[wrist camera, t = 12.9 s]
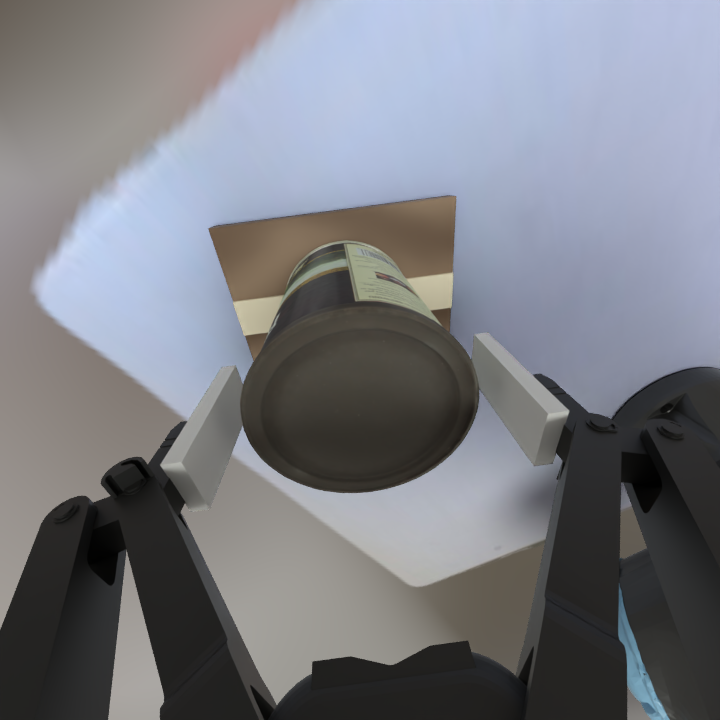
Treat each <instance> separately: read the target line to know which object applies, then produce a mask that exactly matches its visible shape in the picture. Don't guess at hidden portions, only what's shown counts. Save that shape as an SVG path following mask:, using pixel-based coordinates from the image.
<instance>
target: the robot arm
mask: <svg viewBox="0 0 720 720" xmlns="http://www.w3.org/2000/svg"><path fill="white" fill-rule="evenodd" d="M472 363H473V365H474V368H475V370H476V374H477V378H478V383H479V389H480V390H481V392H482V393H483V395H484V396H485V398H486V399H487V400H488V402H489V403H490V405H491V406H492V407H493V409H494V410H495V412H496V413H497V415H498V416H499V417H500V419H501V420H502V422H503V423H504V424H505V426H506V427H507V429H508V430H509V431H510V433H511V434H512V436H513V437H514V439H515V440H516V441H517V443H518V444H519V446H520V447H521V448H522V450H523V451H524V453H525V454H526V456H527V457H528V458H529V460H530V461H531V463H532V464H533V465H534V466H539V465H546V464H553V461H554V458H555V455H556V453H557V454H558V456H559V457H560V458H561V459H562V460H563V462H562V465H561V468H560V471H559V474H558V477H557V480H558V483H557V488H556V492H555V497H554V502H553V507H552V512H551V516H550V521H549V526H548V531H547V536H546V541H545V545H544V550H543V555H542V560H541V565H540V570H539V574H538V579H537V584H536V589H535V594H534V598H533V603H532V608H531V613H530V618H529V622H528V628H527V633H526V636H525V641H524V645H523V648H522V652H521V655H520V659H519V663H518V668H517V672H516V676H515V675H514V674H513V673H512V672H511V671H509V670H508V669H507V668H505V667H504V666H502V665H501V664H499V663H498V662H496V661H494V660H492V659H490V658H488V657H486V656H483V655H481V654H478V653H474V652H471V649H470V646H469V642H468V641H462V642H455V643H447V644H440V645H433V646H429V647H427V648H425V649H423V650H421V651H419V652H417V653H416V654H414V655H412V656H410V657H408V658H406V659H404V660H402V661H401V662H399V663H397V664H394V665H385V664H381V663H377V662H372V661H368V660H364V659H359V658H355V657H344V658H336V659H329V660H322V661H314V662H313V663H312V674H311V675H309V676H307V677H305V678H304V679H303V680H301V681H300V682H298V683H297V684H296V685H295V686H294V687H293V688H292V689H291V690H290V691H289V692H288V693H287V694H286V695H285V696H284V697H283V699H282V700H281V701H280V702H279V703H278V705H276V703H275V701H274V699H273V697H272V696H271V693H270V692H269V690H268V688H267V687H266V685H265V683H264V682H263V680H262V678H261V677H260V674H259V673H258V671H257V669H256V667H255V665H254V662H253V660H252V658H251V656H250V654H249V652H248V650H247V648H246V646H245V644H244V642H243V639H242V638H241V635H240V633H239V631H238V629H237V627H236V625H235V623H234V621H233V619H232V617H231V615H230V613H229V610H228V608H227V606H226V604H225V602H224V600H223V598H222V596H221V594H220V592H219V590H218V587H217V585H216V583H215V581H214V579H213V577H212V575H211V573H210V571H209V569H208V567H207V565H206V562H205V560H204V558H203V556H202V554H201V552H200V550H199V548H198V546H197V544H196V542H195V540H194V538H193V535H192V534H191V531H190V529H189V527H188V525H187V523H186V521H185V519H184V517H183V515H182V514H181V510H182V508H183V506H184V504H186V505H187V507H188V508H189V510H190V511H191V512H193V511H200V510H208V509H210V507H211V505H212V502H213V500H214V497H215V495H216V492H217V489H218V487H219V484H220V482H221V479H222V477H223V474H224V471H225V469H226V466H227V464H228V461H229V459H230V456H231V454H232V451H233V448H234V446H235V443H236V441H237V438H238V436H239V433H240V431H241V428H242V425H243V423H242V418H241V412H240V399H241V392H242V388H243V384H242V381H241V378H240V376H239V373H238V371H237V368H236V365H235V366H227V367H221V369H220V371H219V372H218V374H217V375H216V377H215V379H214V380H213V382H212V383H211V385H210V387H209V388H208V390H207V391H206V393H205V394H204V396H203V398H202V399H201V401H200V402H199V404H198V406H197V407H196V409H195V410H194V412H193V413H192V415H191V417H190V418H189V420H188V421H184V422H180V423H179V424H178V425H177V426H176V427H174V428H173V429H172V430H171V431H170V433H169V434H168V436H167V437H166V439H165V441H164V442H163V443H162V445H161V446H160V448H159V449H158V451H157V452H156V454H155V455H154V456H153V458H152V459H151V461H150V462H149V464H148V465H147V463H146V462H145V460H144V459H143V458H142V457H132V458H128V459H126V460H123V461H121V462H119V463H118V464H116V465H114V466H113V467H112V468H111V469H109V470H108V471H107V472H106V473H105V475H104V476H103V478H102V480H101V485H102V486H103V487H104V488H105V489H106V491H107V492H108V493H109V494H110V495H111V496H110V497H107V498H104V499H102V500H99V501H96V502H94V503H93V502H92V501H91V500H90V499H89V498H88V497H86V496H77V497H74V498H71V499H69V500H67V501H65V502H63V503H61V504H60V505H58V506H57V507H55V508H54V509H53V510H52V511H51V512H50V513H49V514H48V515H47V516H46V517H45V519H44V520H43V522H42V523H41V526H40V529H39V531H38V534H37V537H36V539H35V542H34V544H33V547H32V549H31V552H30V554H29V557H28V560H27V562H26V565H25V567H24V570H23V573H22V575H21V578H20V580H19V583H18V586H17V588H16V591H15V593H14V596H13V598H12V601H11V604H10V606H9V609H8V611H7V614H6V617H5V619H4V622H3V624H2V627H1V629H0V720H108V715H109V704H110V696H111V687H112V677H113V669H114V659H115V650H116V640H117V631H118V623H119V613H120V604H121V595H122V585H123V576H124V566H125V558H126V549H127V552H128V557H129V561H130V565H131V568H132V572H133V576H134V580H135V584H136V587H137V592H138V595H139V599H140V603H141V607H142V611H143V615H144V619H145V623H146V626H147V630H148V634H149V638H150V642H151V646H152V650H153V654H154V657H155V661H156V665H157V669H158V673H159V677H160V681H161V685H162V688H163V693H164V703H163V705H162V706H161V708H160V720H627V686H628V687H629V689H630V691H631V692H632V694H633V695H634V696H635V698H636V699H637V700H639V701H640V702H641V704H642V706H643V708H644V710H645V712H646V713H647V715H648V716H649V717H650V718H651V720H720V369H716V368H695V369H690V370H685V371H682V372H679V373H676V374H673V375H670V376H668V377H666V378H663V379H661V380H659V381H657V382H656V383H654V384H652V385H650V386H649V387H647V388H645V389H644V390H643V391H641V392H640V393H638V394H637V395H636V396H634V397H633V398H632V399H631V400H630V401H629V402H628V403H627V404H626V405H624V407H623V408H622V409H621V410H620V411H619V412H618V413H617V415H616V416H615V418H614V419H613V420H611V419H610V418H608V417H605V416H602V415H599V414H593V413H588V412H587V411H586V410H585V409H584V408H583V407H582V406H581V405H580V404H578V403H577V402H576V401H575V400H574V399H573V398H572V397H571V396H570V395H568V394H566V392H565V391H564V390H563V389H562V388H560V386H558V385H557V384H556V383H555V382H554V381H553V380H552V379H550V378H548V377H546V376H544V375H542V374H535V375H532V374H531V373H530V372H529V371H528V370H526V369H525V368H524V367H523V366H522V365H521V364H520V363H519V362H518V361H517V360H516V359H515V358H514V357H513V356H512V355H511V354H510V353H509V352H508V351H507V350H506V349H505V348H504V347H503V346H502V345H501V344H500V343H498V342H497V341H496V340H495V339H494V338H493V337H492V336H491V335H490V334H489V333H488V332H487V333H479V334H474V340H473V351H472ZM621 482H624V485H625V488H626V490H627V493H628V496H629V499H630V501H631V504H632V507H633V510H634V512H635V515H636V518H637V521H638V524H639V526H640V529H641V532H642V535H643V537H644V540H645V543H646V546H647V548H646V549H644V550H642V551H640V552H637V553H635V554H633V555H631V556H629V557H627V558H624V559H622V558H620V554H619V553H620V504H621Z"/></svg>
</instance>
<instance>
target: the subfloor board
mask: <svg viewBox="0 0 720 720" xmlns="http://www.w3.org/2000/svg"><path fill="white" fill-rule="evenodd" d="M455 211H456V196H450V195H449V196H441V197H433V198H426V199H418V200H410V201H403V202H395V203H387V204H380V205H372V206H364V207H357V208H349V209H341V210H334V211H326V212H318V213H310V214H303V215H295V216H287V217H280V218H272V219H264V220H257V221H249V222H241V223H234V224H226V225H218V226H214V227H211V228H208V229H209V232H210V235H211V238H212V241H213V244H214V247H215V250H216V252H217V255H218V258H219V261H220V264H221V267H222V270H223V273H224V276H225V279H226V282H227V284H228V287H229V290H230V293H231V296H232V299H233V302H234V301H241V300H249V299H256V298H264V297H271V296H279V295H284V293H285V290H286V287H287V283H288V280H289V278H290V275H291V273H292V272H293V270H294V268H295V267H296V265H297V264H298V263H299V261H300V260H302V259H303V258H304V257H305V256H306V255H307V254H308V253H310V252H311V251H313V250H314V249H316V248H318V247H320V246H322V245H325V244H328V243H331V242H337V241H344V240H348V241H357V242H362V243H366V244H369V245H371V246H373V247H376V248H378V249H379V250H381V251H382V252H384V253H385V254H387V255H388V256H389V257H390V258H391V259H393V261H394V262H395V263H396V264H397V266H398V267H399V269H400V271H401V272H402V274H403V276H404V277H405V278H413V277H421V276H428V275H436V274H443V273H451V272H453V252H454V232H455ZM430 311H431V312H432V314H433V315H434V316H435V317H436V319H437V320H438V321H439V322H440V324H441V325H442V326H443V327H444V328H445V329H446V330H447V331H448V332H449V333H450V313H451V308H445V309H438V310H430ZM267 334H268V332H267V333H260V334H253V335H245V337H246V340H247V343H248V346H249V348H250V351H251V354H252V357H253V360H255V359H256V357H257V356H258V354H259V353H260V352H261V349H262V347H263V345H264V342H265V340H266V337H267Z"/></svg>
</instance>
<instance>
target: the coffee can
mask: <svg viewBox="0 0 720 720" xmlns="http://www.w3.org/2000/svg"><path fill="white" fill-rule="evenodd" d="M478 403H479V383H478V378H477V374H476V370H475V368H474V365H473V363H472V361H471V359H470V357H469V356H468V354H467V352H466V351H465V349H464V348H463V347H462V346H461V344H460V343H459V342H458V341H457V340H456V339H455V338H454V337H453V336H452V335H451V334H450V333H449V332H448V331H447V330H446V329H445V328H444V327H443V326H442V325H441V324H440V322H439V321H438V320H437V319H436V317H435V316H434V315H433V314H432V312H431V311H430V310H429V308H428V307H427V306H426V304H425V303H424V302H423V300H422V299H421V298H420V296H419V295H418V294H417V292H416V291H415V290H414V289H413V287H412V286H411V285H410V283H409V282H408V281H407V279H406V278H405V277H404V276H403V274H402V272H401V271H400V269H399V267H398V266H397V264H396V263H395V262H394V261H393V259H391V258H390V257H389V256H388V255H387V254H385V253H384V252H382V251H381V250H379V249H378V248H376V247H373V246H371V245H369V244H366V243H362V242H357V241H348V240H344V241H337V242H331V243H328V244H325V245H322V246H320V247H318V248H316V249H314V250H313V251H311V252H310V253H308V254H307V255H306V256H305V257H304V258H303V259H302V260H300V261H299V263H298V264H297V265H296V267H295V268H294V270H293V272H292V273H291V275H290V278H289V280H288V283H287V287H286V290H285V293H284V296H283V299H282V301H281V303H280V306H279V308H278V311H277V313H276V316H275V318H274V320H273V323H272V325H271V327H270V329H269V332H268V334H267V337H266V340H265V342H264V345H263V347H262V349H261V352H260V353H259V354H258V356H257V357H256V359H255V360H254V362H253V364H252V366H251V367H250V369H249V371H248V374H247V376H246V378H245V381H244V384H243V388H242V392H241V399H240V412H241V418H242V423H243V427H244V431H245V433H246V435H247V438H248V441H249V442H250V444H251V446H252V447H253V448H254V450H255V451H256V453H257V454H258V455H259V456H260V458H261V459H262V460H263V461H264V462H266V463H267V464H268V465H269V466H270V467H271V468H273V469H274V470H276V471H277V472H278V473H280V474H281V475H283V476H284V477H286V478H288V479H291V480H293V481H295V482H297V483H300V484H302V485H305V486H308V487H311V488H314V489H318V490H323V491H330V492H338V493H362V492H373V491H378V490H384V489H388V488H391V487H395V486H398V485H401V484H404V483H407V482H409V481H411V480H414V479H416V478H418V477H420V476H422V475H424V474H425V473H427V472H429V471H430V470H432V469H434V468H435V467H437V466H438V465H439V464H440V463H442V462H443V461H444V460H445V459H446V458H448V457H449V456H450V455H451V454H452V453H453V452H454V451H455V450H456V449H457V447H458V446H459V445H460V444H461V442H462V441H463V440H464V438H465V437H466V435H467V433H468V431H469V430H470V428H471V426H472V424H473V421H474V419H475V416H476V413H477V409H478Z"/></svg>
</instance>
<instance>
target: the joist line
mask: <svg viewBox="0 0 720 720" xmlns="http://www.w3.org/2000/svg"><path fill="white" fill-rule="evenodd" d="M406 279H407V281H408V282H409V283H410V285H411V286H412V287H413V289H414V290H415V291H416V292H417V294H418V295H419V296H420V298H421V299H422V300H423V302H424V303H425V304H426V306H427V307H428V308H429V310H438V309H445V308H452V290H453V272H451V273H443V274H436V275H428V276H421V277H413V278H406ZM283 296H284V295H279V296H271V297H264V298H256V299H249V300H241V301H234V302H233V305H234V308H235V311H236V313H237V316H238V319H239V322H240V325H241V328H242V331H243V334H244V336H245V335H253V334H260V333H267V332H269V329H270V327H271V325H272V323H273V320H274V318H275V316H276V313H277V311H278V308H279V306H280V303H281V301H282V299H283Z"/></svg>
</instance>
